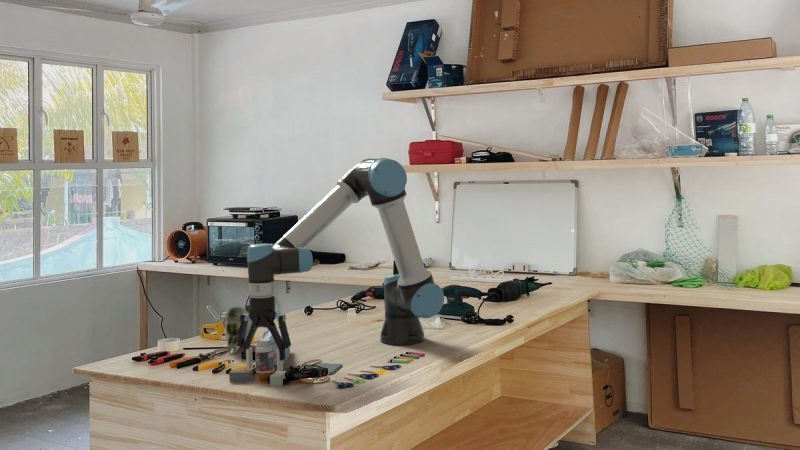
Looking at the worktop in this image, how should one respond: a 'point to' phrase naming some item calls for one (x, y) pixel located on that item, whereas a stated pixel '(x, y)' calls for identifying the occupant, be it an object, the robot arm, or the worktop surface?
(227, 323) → the toy
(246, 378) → the charcoal brick
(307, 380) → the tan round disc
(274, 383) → the sage brick
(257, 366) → the pill bottle
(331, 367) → the slate mat
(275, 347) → the pencil case
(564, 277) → the worktop surface
